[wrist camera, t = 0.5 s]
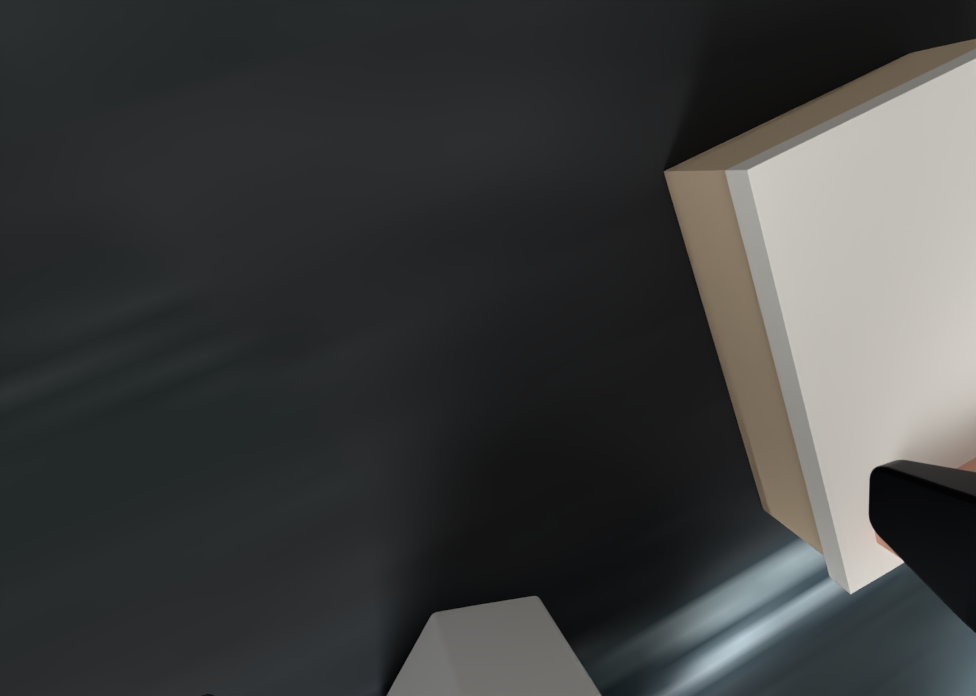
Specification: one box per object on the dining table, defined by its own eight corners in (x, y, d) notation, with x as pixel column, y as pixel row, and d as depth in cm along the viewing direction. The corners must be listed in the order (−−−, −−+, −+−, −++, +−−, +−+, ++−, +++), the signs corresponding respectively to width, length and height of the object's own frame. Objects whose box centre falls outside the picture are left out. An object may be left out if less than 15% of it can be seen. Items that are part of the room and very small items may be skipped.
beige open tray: (957, 399, 28) (1052, 432, 25) (763, 509, 27) (832, 561, 23) (910, 52, 23) (1024, 28, 19) (663, 171, 22) (733, 170, 18)
